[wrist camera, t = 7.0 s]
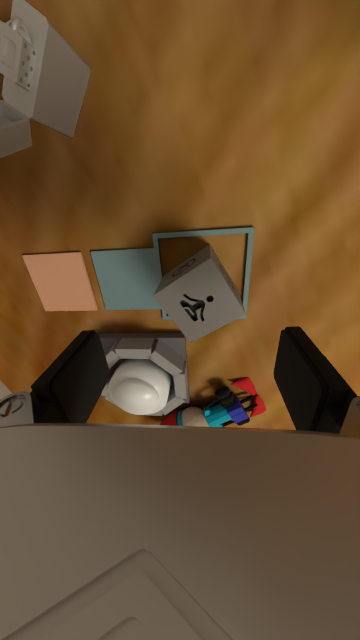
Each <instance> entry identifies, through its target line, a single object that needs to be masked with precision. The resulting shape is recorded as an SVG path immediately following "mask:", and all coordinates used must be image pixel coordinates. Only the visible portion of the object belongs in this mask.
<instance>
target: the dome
mask: <svg viewBox="0 0 360 640" xmlns="http://www.w3.org/2000/svg"><path fill="white" fill-rule="evenodd" d="M170 384H171V374H170V373H169V372H167V371H166V370H164V369H163V368H161V367H160V366H159V365H157V364H156V363H154V362H153V361H152V360H150V359H123V360H122V361H121V362H120V363H119V365H118V367H117V369H116V371H115V373H114V374H113V376H112V378H111V380H110V382H109V384H108V393H109V396H110V398H111V399H112V400H113V402H114V403H115V404H116V405H118V406H119V407H120V408H121V409H123V410H124V411H126V412H129V413H132V414H136V415H147V414H153V413H156V412H158V411H160V410H162V409H163V408H164V407H165V405H166V403H167V399H168V394H169V389H170Z"/></svg>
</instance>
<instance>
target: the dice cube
mask: <svg viewBox="0 0 360 640" xmlns="http://www.w3.org/2000/svg"><path fill="white" fill-rule="evenodd" d="M153 296H154V298H155V299H156V300H157V301H158V303H159V304H160V305H161V306H162V308H163V309H164V310H165V311H166V313H167V314H168V315H169V316H170V318H171V319H172V320H173V321H174V323H175V324H176V325H177V326H178V328H179V329H180V330H181V331H182V333H183V334H184V335H185V336H186V338H187V339H188V340H189V342H190V343H191V342H193V341H195V340H197V339H198V338H200V337H202V336H204V335H206V334H208V333H210V332H212V331H214V330H216V329H218V328H220V327H222V326H224V325H226V324H228V323H230V322H232V321H234V320H236V319H238V318H240V317H242V316H244V315H246V312H245V310H244V307H243V304H242V301H241V298H240V295H239V292H238V290H237V288H236V286H235V285H234V283H233V281H232V280H231V278H230V276H229V275H228V273H227V271H226V270H225V268H224V267H223V265H222V263H221V262H220V260H219V258H218V257H217V255H216V253H215V252H214V250H213V249H212V247H211V245H210V244H209V245H207V246H206V247H204V248H203V249H201V250H200V251H199V252H197V253H196V254H194V255H193V256H191V257H190V258H188V259H187V260H185V261H184V262H182V263H181V264H180V265H178V266H177V267H175V268H174V269H172V270H171V271H169V272H168V273H166V274H165V275H164V276H163V278H162V280H161V282H160V284H159V285H158V287H157V289H156V291H155V293H154V295H153Z"/></svg>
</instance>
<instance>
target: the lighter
mask: <svg viewBox="0 0 360 640" xmlns="http://www.w3.org/2000/svg"><path fill="white" fill-rule="evenodd" d="M0 73H1V74H3V75H4V79H3V88H2V97H3V99H4V101H3V100H0V158H3V157H5V156H8V155H11V154H13V153H16V152H18V151H21V150H23V149H26V148H29V147H31V146H32V138H31V129H30V120H29V119H31V120H33V121H36V122H38V123H40V124H42V125H44V126H47V127H49V128H51V129H53V130H55V131H58V132H60V133H62V134H64V135H66V136H69V137H73V136H74V133H75V129H76V125H77V122H78V118H79V114H80V110H81V107H82V103H83V99H84V95H85V92H86V88H87V84H88V80H89V77H90V73H91V71H90V68H89V66H88V65H87V63H86V62H85V61H84V60H83V59H82V58H81V57H80V56H79V54H78V53H77V52H76V51H75V50H74V49H73V48H72V47H71V45H70V44H69V43H68V42H67V41H66V40H65V39H64V38H63V36H62V35H61V34H60V33H59V32H58V31H57V30H56V28H55V27H54V26H53V25H52V24H51V23H50V22H49V21H48V19H47V18H46V17H44V16H43V15H42V14H41V13H39V12H38V11H37V10H36V9H34V8H33V7H32V6H31V5H29V4H28V3H27V2H26V1H25V0H13V1H12V10H11V19H10V20H9V21H8V22H6V23H4V22H2V21H0Z"/></svg>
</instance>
